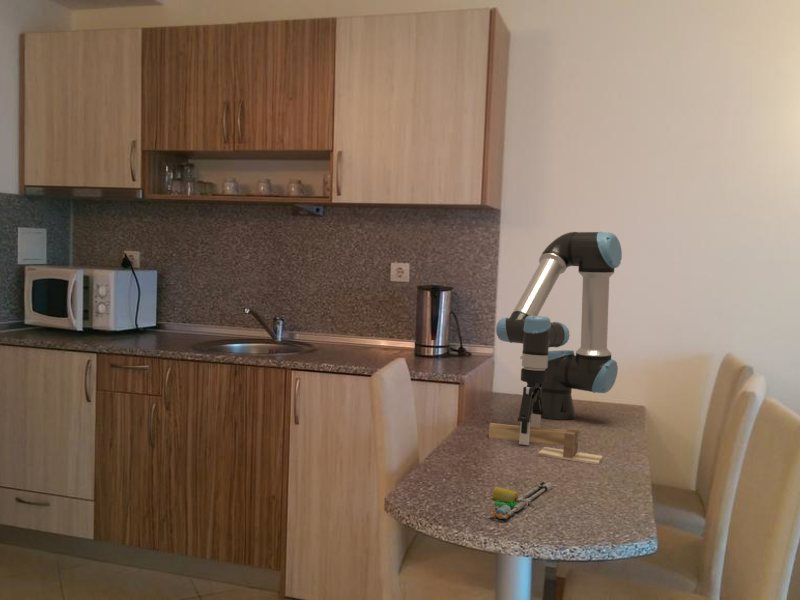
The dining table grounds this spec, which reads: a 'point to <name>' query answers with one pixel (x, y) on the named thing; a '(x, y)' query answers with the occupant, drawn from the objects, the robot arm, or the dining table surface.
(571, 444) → the fulcrum stand
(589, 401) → the dining table surface
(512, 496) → the flamethrower
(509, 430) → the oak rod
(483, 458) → the dining table surface
